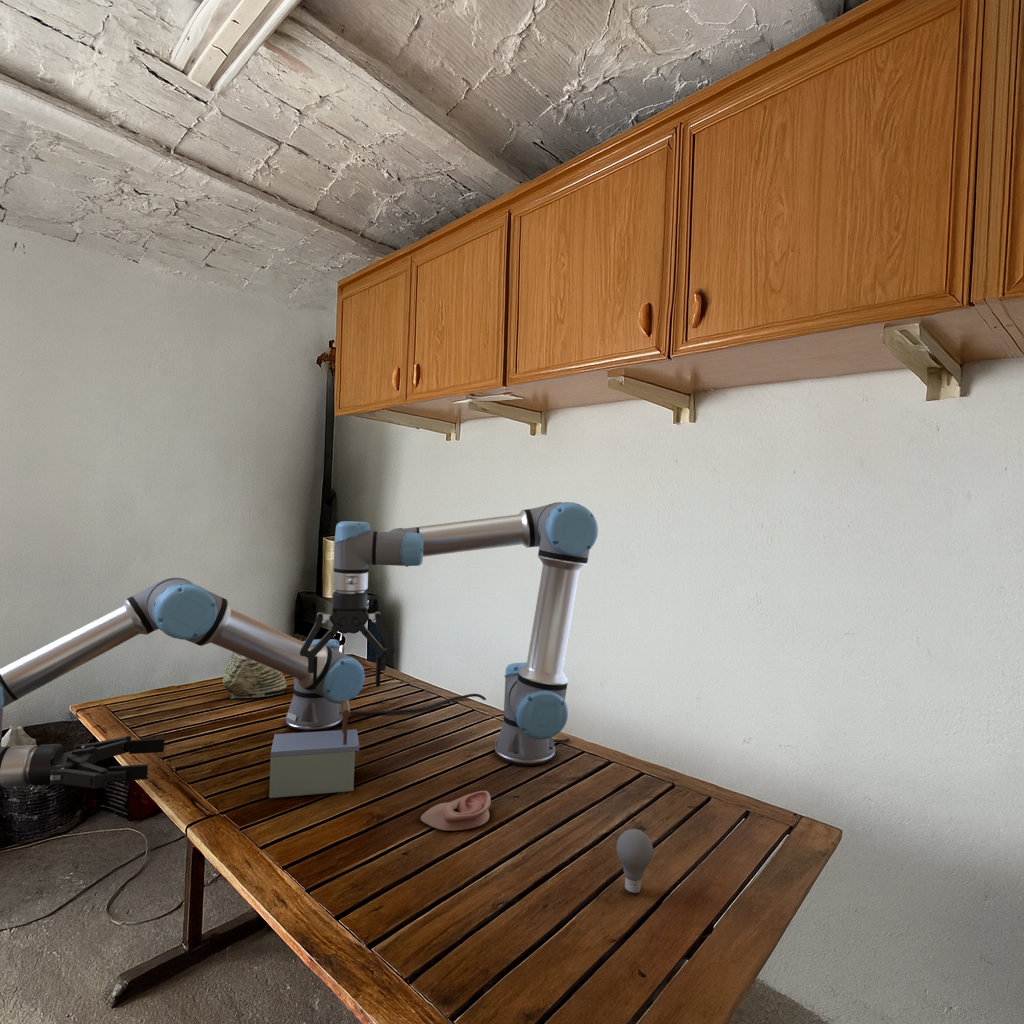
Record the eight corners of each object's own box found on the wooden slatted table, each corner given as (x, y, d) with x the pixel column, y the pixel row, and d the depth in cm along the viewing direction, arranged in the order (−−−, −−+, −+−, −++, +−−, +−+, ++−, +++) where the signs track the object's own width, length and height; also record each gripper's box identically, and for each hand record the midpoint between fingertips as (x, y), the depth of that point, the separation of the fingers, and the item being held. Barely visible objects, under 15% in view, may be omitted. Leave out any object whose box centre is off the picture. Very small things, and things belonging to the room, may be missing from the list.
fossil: (218, 695, 195) (220, 647, 195) (278, 685, 208) (279, 640, 207) (228, 703, 189) (230, 653, 188) (289, 692, 201) (290, 645, 201)
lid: (356, 734, 147) (358, 696, 147) (359, 751, 137) (360, 711, 137) (274, 739, 142) (275, 700, 141) (270, 757, 132) (272, 715, 132)
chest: (351, 771, 147) (352, 734, 147) (353, 791, 137) (355, 751, 137) (272, 777, 142) (274, 739, 142) (269, 798, 132) (270, 757, 132)
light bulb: (610, 879, 108) (613, 822, 108) (644, 879, 109) (647, 822, 109) (619, 902, 102) (622, 840, 102) (655, 901, 103) (658, 840, 103)
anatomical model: (415, 806, 123) (434, 781, 134) (414, 826, 123) (433, 799, 134) (481, 816, 120) (495, 789, 132) (480, 836, 120) (494, 808, 132)
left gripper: (59, 758, 136) (169, 752, 142) (3, 815, 112) (138, 804, 118) (60, 724, 136) (170, 719, 142) (5, 773, 112) (140, 764, 118)
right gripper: (289, 593, 133) (286, 693, 134) (408, 593, 140) (405, 688, 141) (291, 588, 140) (288, 683, 141) (404, 588, 148) (401, 679, 148)
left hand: (156, 757), depth 130 cm, fingers open, 13 cm apart
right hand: (346, 686), depth 141 cm, fingers open, 13 cm apart
